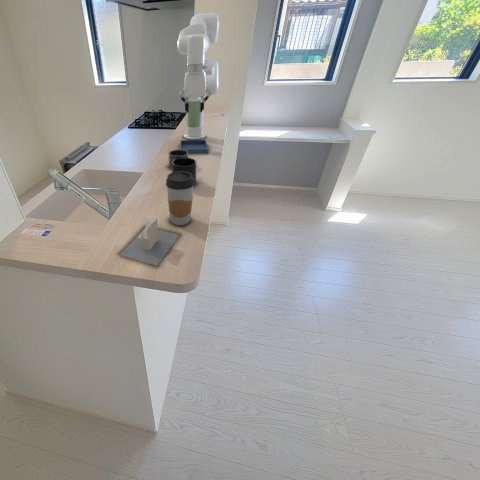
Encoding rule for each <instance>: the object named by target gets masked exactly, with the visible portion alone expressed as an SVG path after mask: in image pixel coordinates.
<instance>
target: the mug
mask: <svg viewBox="0 0 480 480" xmlns="http://www.w3.org/2000/svg"><path fill="white" fill-rule="evenodd" d="M177 171H184V172H189V173H191V174H192V175H193V178H194V186H195V185H196V183H197V160H195V159H194V158H191V157H188V158H178V159H175V160H173V161H172V169H171V173H173V172H177Z"/></svg>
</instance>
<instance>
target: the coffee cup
mask: <svg viewBox="0 0 480 480" xmlns="http://www.w3.org/2000/svg"><path fill="white" fill-rule="evenodd" d="M165 185H166V191H167V202H168V203H167V205H168V210H169V211H168V212H169V220H170V221H171V223H172V224H173V225H175V226H185V225H187V224H189V222H190V221H191V217H192V207H193V200H194V199H193V195H194V187H195V185H194V178H193V175H192V174H191V173H189V172H184V171H177V172H173V173H172V172H170V173H168V175H167V178H166V180H165Z"/></svg>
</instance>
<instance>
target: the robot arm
mask: <svg viewBox="0 0 480 480" xmlns="http://www.w3.org/2000/svg"><path fill="white" fill-rule="evenodd" d="M219 29H220V19H219V16H218V14H217V13H216V12H203V13H202V12H201V13H196V14H194V15H193V16H192V17H191V18H190V22H189V25H188V26H187V27H185V28H183V29H181V30H180V31H179V35H178V39H177V50H178V53H179V55H181V56H186V64H187V65H186V66H187V67H186V72H184V73H185V75H184V83H183V89H181V91H180V92H179V93H178V95H177V96H178V97H179V99H180V100H181V101H182V102H183V103H184V111H186V133H184V134H183V138H184V139H185V140H203V139H204V138H206V134H205V133H204V113H205V112H204V111H205V103H206V102H207V101H208V99H209V98H210V97H211V96H214V95H216V94H217V93H218V90H219V77H220V76H219V71H220V70H219V62H218V60H216V59H215V58H206V54H207V52H208V51H209V49H210V46H214V45H216V44H217V42H218V38H219ZM183 95H184V96H183ZM194 99H198V100H201V121H200V127H188V100H194Z"/></svg>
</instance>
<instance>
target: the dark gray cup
mask: <svg viewBox="0 0 480 480" xmlns="http://www.w3.org/2000/svg"><path fill="white" fill-rule="evenodd" d="M178 158H189V154H188V151H186V150H179V149H173V150H170V151H168V167H169V169H171V170H172V161H173V160H175V159H178Z"/></svg>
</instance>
